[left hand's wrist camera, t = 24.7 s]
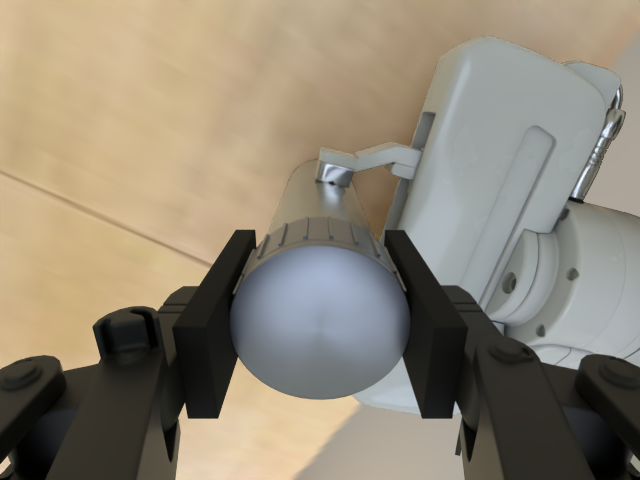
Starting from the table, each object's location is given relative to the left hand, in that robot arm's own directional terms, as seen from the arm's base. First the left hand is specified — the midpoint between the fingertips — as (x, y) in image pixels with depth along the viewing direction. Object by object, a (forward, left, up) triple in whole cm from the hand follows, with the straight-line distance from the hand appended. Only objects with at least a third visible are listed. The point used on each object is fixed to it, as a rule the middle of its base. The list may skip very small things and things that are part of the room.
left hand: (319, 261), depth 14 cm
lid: (0, 0, +4) cm, 4 cm away
